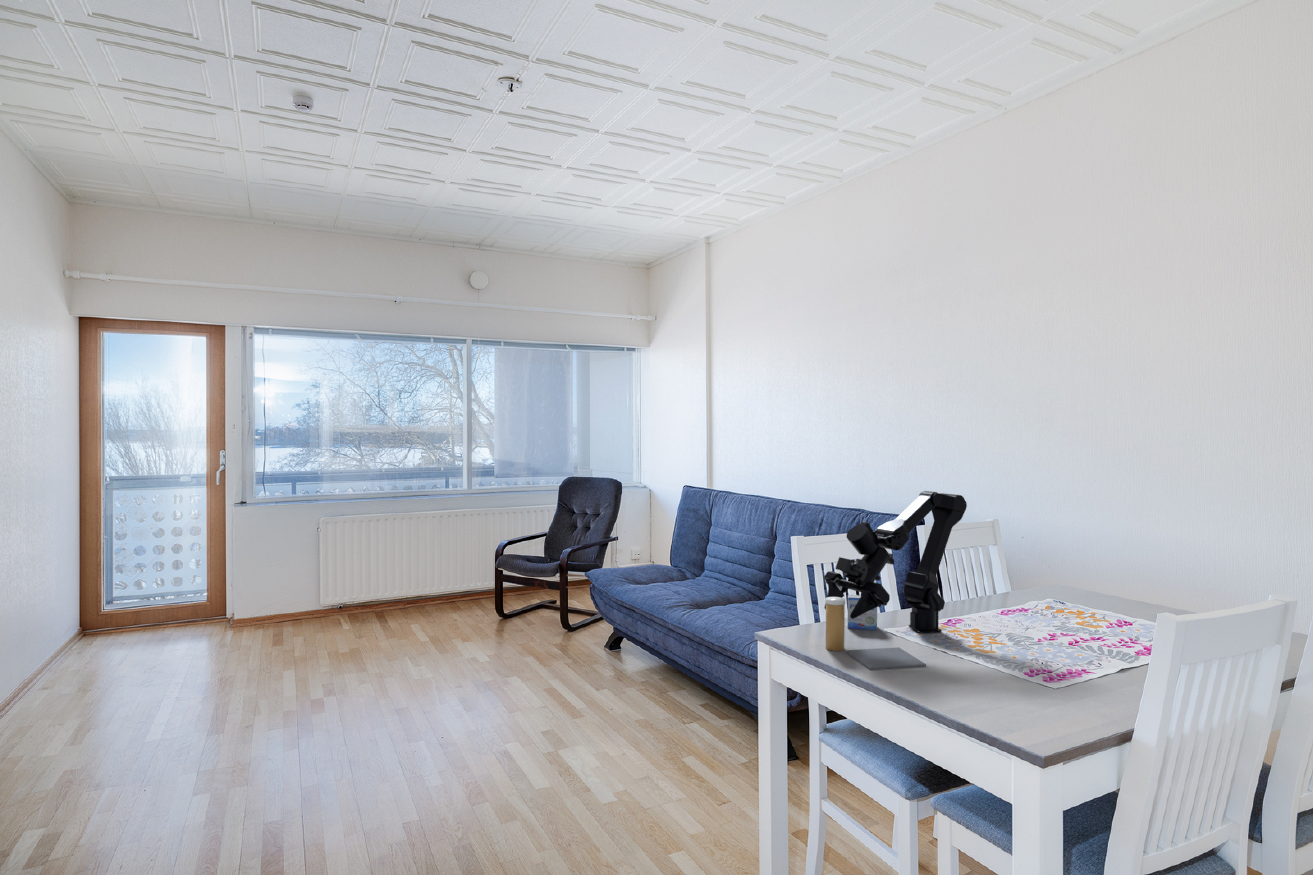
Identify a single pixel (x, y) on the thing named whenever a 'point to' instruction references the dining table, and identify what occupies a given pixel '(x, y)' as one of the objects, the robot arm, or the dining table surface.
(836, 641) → the pill bottle
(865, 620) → the medicine box
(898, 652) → the rubber mat
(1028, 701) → the dining table surface
